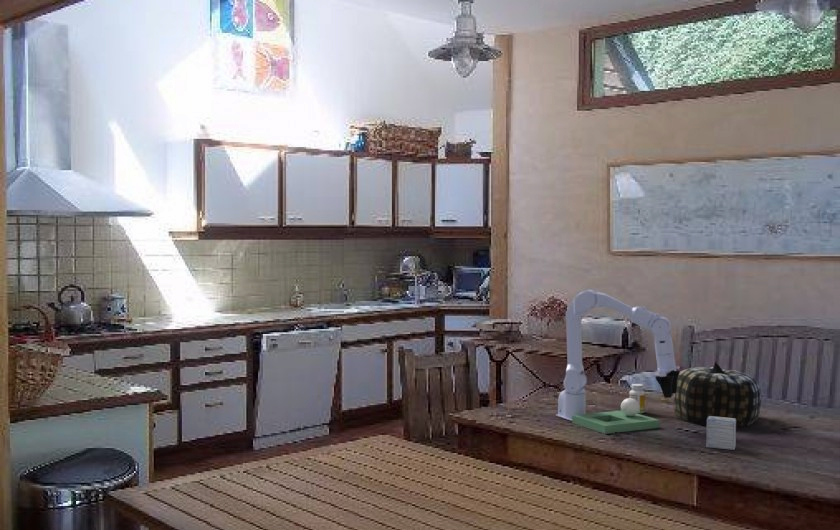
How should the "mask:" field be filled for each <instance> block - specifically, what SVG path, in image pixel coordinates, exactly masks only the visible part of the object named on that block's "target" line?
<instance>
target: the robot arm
mask: <svg viewBox="0 0 840 530" xmlns="http://www.w3.org/2000/svg"><path fill="white" fill-rule="evenodd" d="M595 307H596V308H603V307H604V308H605V307H606V308H609V309H612V310H613V311H615V312H618V313H620V314H623V315H625V316H628V318H629V321H630V322H631V323H633V324H635V325H637V326H640V327H641V328H643V329H646V330H647V331H649V330H651V333H653V337H654V338H653V339H654V350H655V357H656V364H657V365H656V366H657V368H656V369H657V370H656V371H657V372H658V374H659V375H656V376H655V380H656V381H657V383H658V384H659V387H660V388H661V392H662V395H663V397H664V398H666V399H667V398H672V396H673V395H674V393H676V392H677V380H678V376H679V373H680V372H681V371H680V370H679V369H680V366H679V365H677V366H676V358H675V350H674V344H673V338H672V333H671V329H672V324H671V323H672V322H671V321H670V319H668V318H667V317H666V316H664V315H661V316H660V313H655V312H652V311H650V310H648V309H647V307H646V306H643V305H642V306H639V305H638V306H634V307H632V306H630V305H628V304H626V303H624V302H623V301H621V300H619V299H616V298H615V297H612V296H611V295H609V294H607V293H604V292H602V291H601V292H600V291H598V290H595V289H591V288H590V289H586V290H582V291H581V292H579V293H578V294H576V295H575V296H574V297H573V300H572V302H571V303H570V305H569V306H568V308H567V310H566V312H565V326H566V328H565V329H566V331H565V332H566V354H567V355H566V357H567V360H566V361H567V364H566V369H565V376H564V377H565V378H564V379H563V382H562V383H563V388H564V390H562V391H560V393H559V395H558V402H557V403H558V405H557V413H556V414H555V416H556V417H558V418H562V419H565V420H568V421H570V422H572V415H581V414H586V407H587V406H586V402H587V391H586V389H585V387H586V385H587V383H588V379H587V376H586V373H585V369H584V368H585V367H584V365H583V348H582V347H583V345H582V343H583V341H582V317H583V316H584V315H585V314H586V313H587V312H588V311H589V310H591V309H593V308H595Z"/></svg>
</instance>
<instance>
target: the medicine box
mask: <svg viewBox="0 0 840 530" xmlns="http://www.w3.org/2000/svg"><path fill="white" fill-rule="evenodd" d="M736 430H737V426H736V419H735V418H726V417H715V416H709V417H708V418H707V426H706V445H705V446H706V448H712V449H713V448H714V449H720V450H721V449H724V450H733V451H735V448H736V446H737V444H736V440H737V433H736V432H737V431H736Z"/></svg>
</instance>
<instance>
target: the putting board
mask: <svg viewBox="0 0 840 530" xmlns="http://www.w3.org/2000/svg"><path fill="white" fill-rule="evenodd" d="M571 423H572V424H574V425H577V426H579V427H580V426H581V427H583V428H587V429H589V430H592V431H595V432H599V433H602V434H605V435H607V434H616V433H615V432H617V433H625V432H631V431H632V432H633V431H640V430H641V431H642V430H649V429H650V430H651V429H657V428H660V419H658V418H653V417H650V416H646V415H643V414H641V413H637V414H636V415H634V416H626V415H625V414H624V413H623V412H622V411H621V410H613V411H603V412H594V413H593V412H592V413H585V414H581V415H572V421H571Z"/></svg>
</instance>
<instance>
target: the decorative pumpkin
mask: <svg viewBox="0 0 840 530" xmlns="http://www.w3.org/2000/svg"><path fill="white" fill-rule="evenodd" d="M761 406H762V390H761V387H760V384H759V382H758V381H757V380H756V378H754V377H753V376H752V375H750V374H748V373H744V372H740V371H738V370H734V369H724V368H721V366H720V364H718V363H717V361H716V360H715V361H714V365H713V366H712V367H711V366H710V367H704V366H691V367H689V368H686V369H682V370H681V371H680V373H679V376H678V380H677V392H676V393H673V407H674V408H673V410H674V411H673V416H674V418H675V419H677V420H679V421H683V422H685V423H690V424H696V425H700V426H705V427H707V418H708V417H709V416H715V417H726V418H735V419H736V427H746V426H750V425H752V424H754V423H756V421H757V420H758V418H759V416H760V412H761V408H762V407H761Z"/></svg>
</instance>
